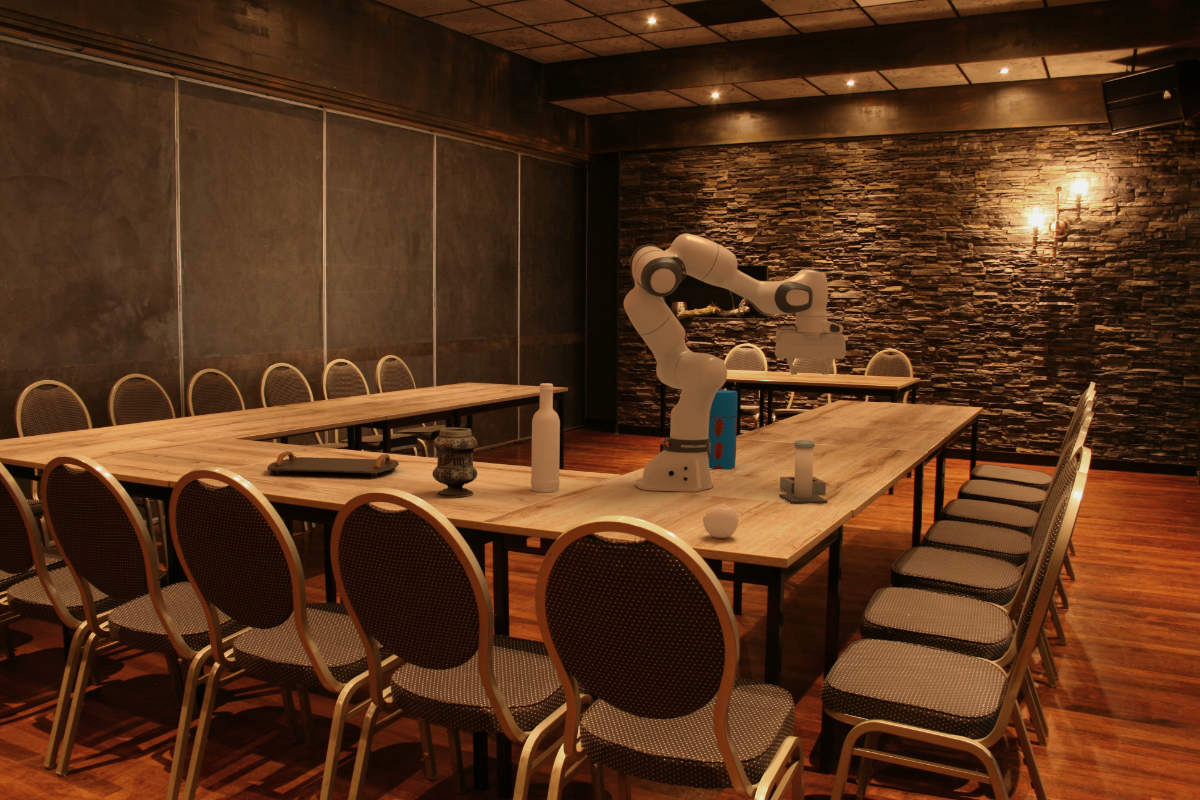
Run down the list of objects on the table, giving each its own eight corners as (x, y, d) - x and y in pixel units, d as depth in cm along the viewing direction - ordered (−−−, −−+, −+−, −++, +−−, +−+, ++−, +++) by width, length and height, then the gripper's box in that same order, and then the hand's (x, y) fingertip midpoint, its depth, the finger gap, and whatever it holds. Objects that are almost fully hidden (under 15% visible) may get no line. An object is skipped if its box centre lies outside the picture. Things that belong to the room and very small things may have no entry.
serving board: (257, 477, 289) (256, 457, 288) (288, 465, 312) (288, 446, 311) (384, 481, 286) (384, 460, 285) (406, 468, 309) (406, 449, 308)
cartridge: (796, 499, 262) (798, 443, 260) (790, 495, 267) (791, 440, 266) (816, 498, 263) (817, 443, 261) (809, 494, 268) (810, 440, 266)
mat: (791, 503, 259) (791, 500, 259) (779, 496, 269) (779, 493, 269) (827, 503, 261) (827, 500, 261) (814, 496, 271) (814, 493, 271)
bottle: (555, 493, 269) (556, 385, 266) (527, 491, 270) (528, 384, 268) (562, 488, 277) (563, 383, 274) (535, 486, 278) (536, 382, 276)
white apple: (727, 533, 224) (728, 499, 223) (744, 540, 217) (746, 506, 216) (696, 535, 221) (697, 502, 220) (713, 543, 214) (714, 508, 213)
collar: (791, 495, 272) (791, 482, 271) (779, 488, 282) (780, 476, 281) (825, 494, 273) (825, 482, 273) (813, 488, 283) (813, 476, 283)
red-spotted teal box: (734, 470, 313) (736, 393, 310) (700, 469, 315) (702, 392, 313) (736, 465, 323) (738, 390, 321) (704, 463, 325) (706, 389, 323)
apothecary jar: (484, 491, 269) (484, 427, 268) (466, 499, 258) (466, 432, 256) (443, 489, 273) (444, 425, 271) (425, 496, 261) (424, 430, 260)
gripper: (779, 326, 275) (778, 375, 276) (848, 327, 278) (847, 375, 279) (772, 325, 281) (771, 373, 282) (840, 326, 284) (838, 374, 285)
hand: (809, 374), depth 281 cm, fingers open, 8 cm apart
